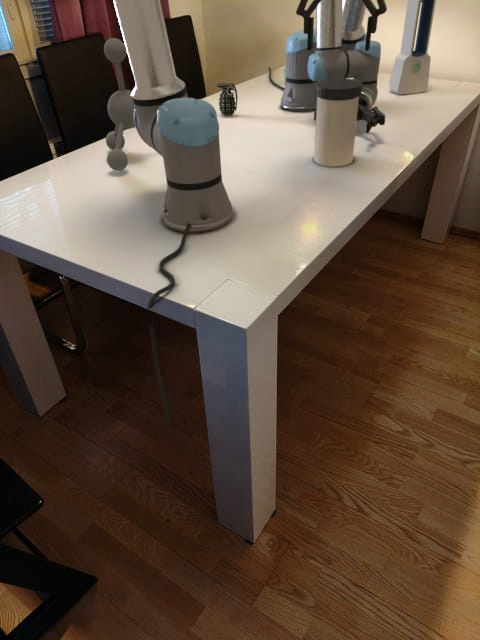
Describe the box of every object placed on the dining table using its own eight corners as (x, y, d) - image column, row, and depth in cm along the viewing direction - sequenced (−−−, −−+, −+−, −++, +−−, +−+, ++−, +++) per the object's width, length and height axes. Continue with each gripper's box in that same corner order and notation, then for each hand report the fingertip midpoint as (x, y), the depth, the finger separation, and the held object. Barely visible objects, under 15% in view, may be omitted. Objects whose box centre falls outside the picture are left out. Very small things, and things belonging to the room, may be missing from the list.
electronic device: (397, 95, 179) (411, -2, 161) (387, 90, 185) (399, -4, 166) (427, 91, 181) (444, -5, 163) (416, 87, 187) (431, -7, 169)
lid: (327, 87, 127) (328, 76, 126) (368, 91, 122) (369, 80, 121) (306, 97, 120) (306, 86, 119) (349, 102, 115) (350, 91, 113)
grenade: (217, 117, 168) (214, 86, 162) (221, 112, 172) (219, 82, 166) (235, 117, 166) (233, 86, 160) (239, 113, 171) (238, 82, 165)
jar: (324, 150, 137) (329, 79, 126) (359, 156, 132) (366, 82, 121) (307, 162, 130) (310, 88, 119) (342, 169, 126) (348, 92, 114)
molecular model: (191, 162, 134) (177, 38, 116) (111, 177, 129) (83, 48, 110) (169, 138, 152) (153, 27, 134) (98, 150, 146) (72, 36, 128)
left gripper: (283, -61, 103) (283, 52, 116) (405, -68, 96) (390, 52, 109) (292, -61, 109) (290, 46, 122) (408, -69, 102) (393, 46, 115)
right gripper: (397, 120, 147) (387, 143, 132) (317, 115, 155) (298, 136, 140) (401, 94, 143) (391, 114, 127) (318, 90, 150) (299, 109, 135)
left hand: (338, 49), depth 116 cm, fingers open, 13 cm apart
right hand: (342, 126), depth 133 cm, fingers open, 13 cm apart
